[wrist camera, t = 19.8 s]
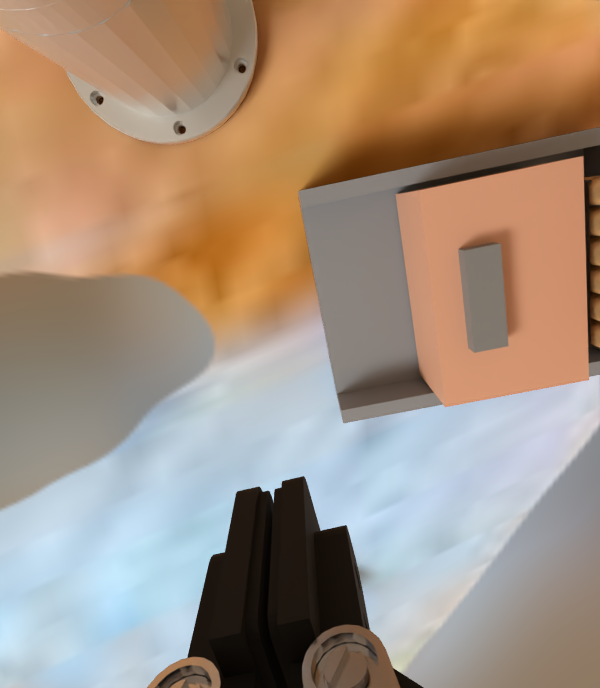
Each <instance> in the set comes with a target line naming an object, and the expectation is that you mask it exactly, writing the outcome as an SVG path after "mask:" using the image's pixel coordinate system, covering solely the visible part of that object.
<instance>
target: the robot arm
mask: <svg viewBox="0 0 600 688" xmlns="http://www.w3.org/2000/svg"><path fill="white" fill-rule="evenodd" d="M0 29H1V30H3V31H4V32H6V33H7V34H9V35H11V36H12V37H14V38H16V39H17V40H19V41H20V42H22V43H24V44H25V45H27V46H28V47H30V48H32V49H33V50H35V51H36V52H38V53H40V54H41V55H43V56H45V57H46V58H48V59H49V60H51V61H53V62H54V63H56V64H57V65H59V66H61V67H62V68H64V69H65V70H66V73H67V75H68V77H69V79H70V81H71V82H72V84H73V86H74V87H75V89H76V91H77V92H78V94H79V96H80V97H81V98H82V99H83V100H84V102H85V103H86V104H87V105H88V106H89V108H90V109H91V110H92V111H93V112H94V113H95V114H96V115H98V116H99V117H100V118H101V119H102V120H104V121H105V122H106V123H107V124H108V125H110V126H112V127H114V128H115V129H117V130H119V131H120V132H122V133H124V134H126V135H128V136H130V137H133V138H135V139H138V140H141V141H145V142H149V143H153V144H167V145H175V144H181V143H187V142H192V141H194V140H197V139H199V138H202V137H204V136H207V135H208V134H210V133H211V132H213V131H214V130H216V129H218V128H219V127H221V126H222V125H223V124H224V123H225V122H226V121H227V120H228V119H229V118H230V117H231V116H232V115H233V114H234V113H235V111H236V110H237V108H238V107H239V105H240V104H241V102H242V101H243V99H244V98H245V96H246V94H247V91H248V89H249V87H250V84H251V82H252V80H253V75H254V71H255V67H256V62H257V53H258V31H257V22H256V15H255V11H254V7H253V2H252V0H0ZM240 66H245V67H246V71H245V72H244V73H240V72H239V71H238V69H239V67H240ZM101 97H103V98H104V101H103V103H102V104H101V105H100V104H99V99H100V98H101ZM182 126H185V128H186V132H185V133H184V134H181V133H180V127H182ZM147 688H423V687H422V686H420V685H418V684H417V683H415V682H414V681H412V680H411V679H409V678H408V677H406V676H405V675H403V674H401V673H400V672H398V671H397V670H395V669H394V668H393V667H392V665H391V662H390V659H389V657H388V654H387V652H386V649H385V647H384V646H383V644H382V642H381V641H380V639H379V638H378V637H377V636H376V635H375V634H374V633H373V632H371V631H370V628H369V623H368V618H367V612H366V607H365V601H364V596H363V591H362V586H361V581H360V576H359V572H358V567H357V563H356V559H355V555H354V551H353V547H352V543H351V539H350V535H349V532H348V528H347V526H346V525H345V526H340V527H336V528H331V529H327V530H322V531H320V528H319V524H318V521H317V517H316V514H315V510H314V507H313V503H312V500H311V496H310V492H309V489H308V485H307V482H306V479H305V477H304V476H303V477H299V478H294V479H290V480H286V481H282V488H278V489H275V492H274V503H273V500H272V496H271V494H270V492H269V491H265V492H262V490H261V488H260V487H255V488H251V489H246V490H242V491H238V492H237V493H236V497H235V503H234V508H233V513H232V518H231V524H230V529H229V534H228V539H227V545H226V550H225V552H224V553H220V554H215V555H213V556H212V557H211V559H210V562H209V566H208V570H207V575H206V579H205V583H204V588H203V592H202V596H201V601H200V605H199V610H198V614H197V618H196V623H195V627H194V631H193V636H192V640H191V644H190V649H189V653H188V658H186V659H181V660H179V661H177V662H175V663H173V664H171V665H170V666H168V667H167V668H166V669H165V670H163V671H162V672H161V673H159V674H158V675H157V676H156V678H155V679H154V680H153V681H152V682H151V683H150V685H149V686H148V687H147Z"/></svg>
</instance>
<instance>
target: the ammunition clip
mask: <svg viewBox="0 0 600 688" xmlns="http://www.w3.org/2000/svg"><path fill="white" fill-rule="evenodd" d="M584 202H585V241H586V281H587V320H588V347H594V345H595V346H597V347H599V348H600V237H592V236H589V235H593V236H600V207H589V205H600V175H592V176H584Z"/></svg>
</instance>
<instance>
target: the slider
mask: <svg viewBox="0 0 600 688" xmlns="http://www.w3.org/2000/svg"><path fill="white" fill-rule="evenodd" d="M395 195H396V202H397V210H398V217H399V224H400V232H401V239H402V246H403V254H404V261H405V268H406V276H407V283H408V290H409V298H410V305H411V312H412V320H413V327H414V334H415V342H416V349H417V356H418V364H419V371H420V375H421V376H422V378H423V379H424V380H425V382H426V383H427V384H428V385H429V387H430V388H431V389H432V391H433V392H434V393H435V394H436V396H437V397H438V398H439V400H440V401H441V402H442V403H443V405H444V406H445V407H448V406H453V405H459V404H464V403H469V402H474V401H480V400H485V399H490V398H496V397H501V396H506V395H511V394H517V393H522V392H527V391H532V390H538V389H543V388H548V387H553V386H559V385H564V384H569V383H575V382H580V381H585V380H589V359H588V320H587V281H586V241H585V202H584V163H583V156H581V157H576V158H570V159H565V160H560V161H554V162H549V163H544V164H538V165H533V166H528V167H523V168H518V169H513V170H509V171H504V172H499V173H494V174H490V175H485V176H480V177H475V178H471V179H466V180H461V181H456V182H452V183H447V184H442V185H437V186H433V187H428V188H423V189H418V190H414V191H409V192H404V193H399V194H395Z"/></svg>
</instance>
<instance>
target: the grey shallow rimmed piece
mask: <svg viewBox="0 0 600 688" xmlns="http://www.w3.org/2000/svg"><path fill="white" fill-rule="evenodd" d="M581 156H583V163H584V176H592V175H600V127H598V128H593V129H588V130H584V131H579V132H574V133H569V134H565V135H560V136H555V137H551V138H546V139H541V140H536V141H532V142H527V143H522V144H518V145H513V146H508V147H504V148H499V149H494V150H489V151H485V152H480V153H475V154H471V155H466V156H461V157H456V158H452V159H447V160H442V161H438V162H433V163H428V164H423V165H419V166H414V167H409V168H405V169H400V170H395V171H390V172H386V173H381V174H376V175H372V176H367V177H362V178H358V179H353V180H348V181H343V182H339V183H334V184H329V185H325V186H320V187H315V188H310V189H306V190H301V191H299V192H298V197H299V202H300V207H301V212H302V217H303V222H304V228H305V233H306V238H307V243H308V248H309V253H310V259H311V264H312V269H313V274H314V279H315V284H316V290H317V295H318V300H319V305H320V310H321V316H322V321H323V326H324V331H325V336H326V341H327V347H328V352H329V357H330V362H331V367H332V372H333V378H334V383H335V388H336V393H337V398H338V403H339V407H340V411H341V415H342V419H343V423H348V422H353V421H358V420H363V419H369V418H374V417H379V416H384V415H390V414H395V413H400V412H405V411H411V410H416V409H421V408H426V407H432V406H437V405H442V404H443V403H442V402H441V401H440V400H439V398H438V397H437V396H436V394H435V393H434V392H433V391H432V389H431V388H430V387H429V385H428V384H427V383H426V382H425V380H424V379H423V378H422V376H421V375H420V371H419V364H418V356H417V349H416V342H415V334H414V327H413V320H412V312H411V305H410V298H409V290H408V283H407V276H406V268H405V261H404V254H403V246H402V239H401V232H400V224H399V217H398V210H397V202H396V195H395V194H399V193H404V192H409V191H414V190H418V189H423V188H428V187H433V186H437V185H442V184H447V183H452V182H456V181H461V180H466V179H471V178H475V177H480V176H485V175H490V174H494V173H499V172H504V171H509V170H513V169H518V168H523V167H528V166H533V165H538V164H544V163H549V162H554V161H560V160H565V159H570V158H576V157H581ZM589 207H600V205H589ZM589 236H592V237H600V236H593V235H589ZM588 359H589V377H590V376H595V375H600V348H599V347H597V346H595V345H594V347H588Z"/></svg>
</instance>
